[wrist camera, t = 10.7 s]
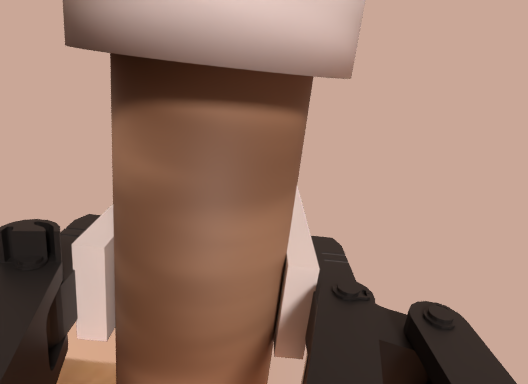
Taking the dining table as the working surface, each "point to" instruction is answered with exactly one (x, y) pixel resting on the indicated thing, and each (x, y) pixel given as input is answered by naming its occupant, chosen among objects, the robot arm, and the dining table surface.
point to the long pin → (207, 170)
